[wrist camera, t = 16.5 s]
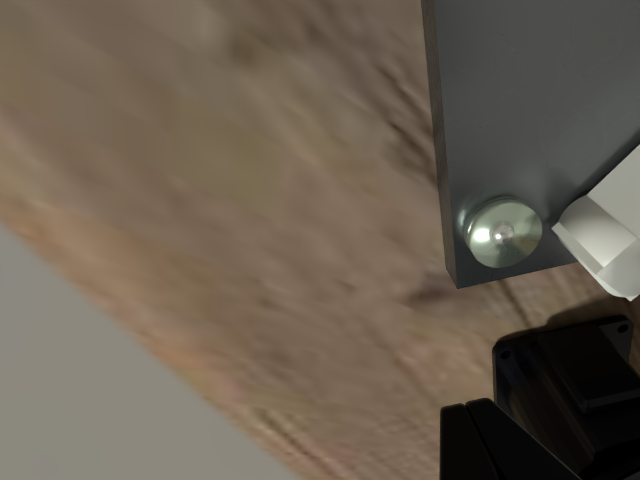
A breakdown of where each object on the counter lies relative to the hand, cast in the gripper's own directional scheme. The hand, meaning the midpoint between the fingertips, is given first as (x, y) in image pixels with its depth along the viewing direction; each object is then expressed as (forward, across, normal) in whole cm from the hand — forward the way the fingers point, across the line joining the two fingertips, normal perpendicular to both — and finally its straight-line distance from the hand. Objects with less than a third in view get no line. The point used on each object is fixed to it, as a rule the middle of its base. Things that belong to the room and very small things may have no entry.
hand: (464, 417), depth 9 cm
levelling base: (+12, -10, -6) cm, 16 cm away
